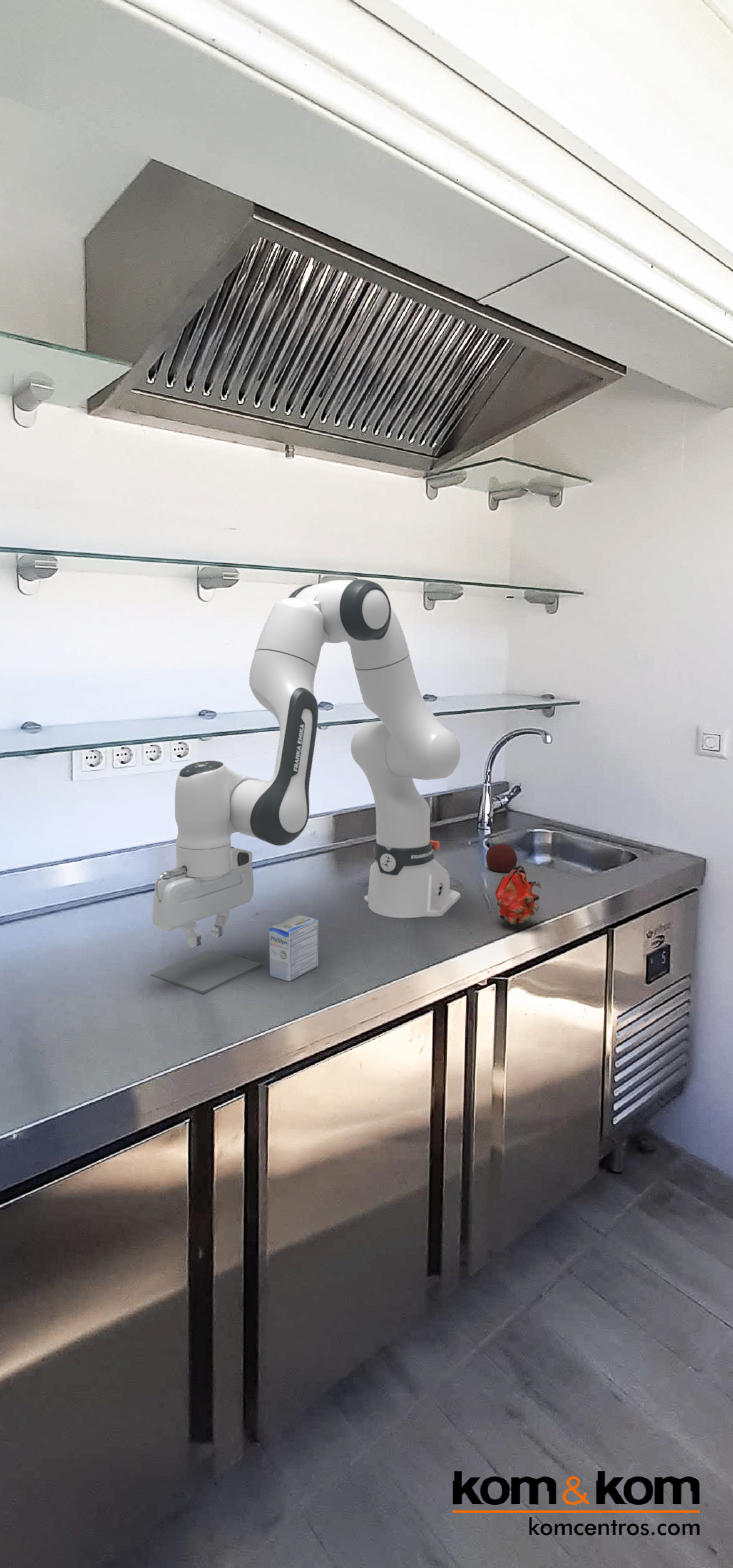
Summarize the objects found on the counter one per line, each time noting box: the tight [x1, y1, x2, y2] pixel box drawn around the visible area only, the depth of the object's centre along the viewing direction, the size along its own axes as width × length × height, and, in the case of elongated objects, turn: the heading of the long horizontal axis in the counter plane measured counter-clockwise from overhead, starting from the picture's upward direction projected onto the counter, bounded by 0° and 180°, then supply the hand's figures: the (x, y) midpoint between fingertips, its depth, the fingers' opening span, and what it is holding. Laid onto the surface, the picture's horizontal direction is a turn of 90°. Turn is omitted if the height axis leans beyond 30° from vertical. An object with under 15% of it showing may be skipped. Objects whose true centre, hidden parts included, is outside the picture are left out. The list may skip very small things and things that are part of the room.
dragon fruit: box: [494, 865, 542, 926], centre depth 162 cm, size 8×8×12 cm
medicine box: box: [268, 914, 319, 982], centre depth 138 cm, size 8×4×9 cm, turn 146°
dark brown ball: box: [485, 843, 518, 873], centre depth 201 cm, size 7×8×7 cm
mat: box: [150, 949, 263, 995], centre depth 139 cm, size 14×12×1 cm
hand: (206, 941), depth 138 cm, fingers open, 4 cm apart
